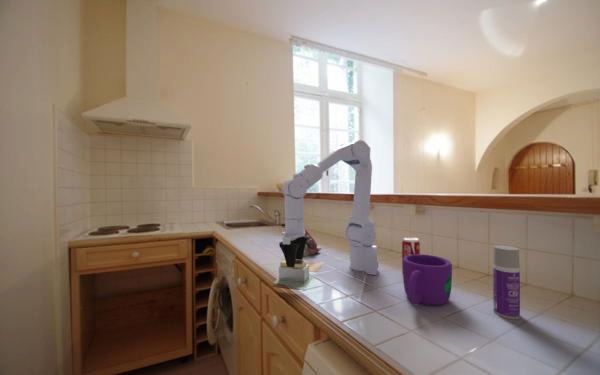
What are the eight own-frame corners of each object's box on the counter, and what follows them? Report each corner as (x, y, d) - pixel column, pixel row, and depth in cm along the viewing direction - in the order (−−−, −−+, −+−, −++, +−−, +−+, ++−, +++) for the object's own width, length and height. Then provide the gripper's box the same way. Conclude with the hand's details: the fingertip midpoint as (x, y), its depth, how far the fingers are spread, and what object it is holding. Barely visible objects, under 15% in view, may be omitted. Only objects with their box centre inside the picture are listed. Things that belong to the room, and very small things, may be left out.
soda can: (399, 276, 82) (399, 238, 82) (405, 272, 86) (405, 236, 86) (416, 280, 79) (416, 241, 79) (422, 275, 83) (422, 238, 83)
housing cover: (285, 262, 81) (285, 258, 81) (306, 264, 79) (306, 260, 79) (280, 266, 78) (280, 262, 78) (302, 268, 75) (302, 264, 75)
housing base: (284, 274, 82) (284, 262, 82) (309, 277, 79) (309, 264, 79) (278, 280, 77) (278, 267, 77) (304, 283, 74) (304, 269, 74)
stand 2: (324, 265, 93) (324, 263, 93) (317, 275, 84) (317, 272, 84) (298, 263, 97) (298, 260, 97) (288, 272, 87) (288, 269, 87)
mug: (411, 286, 74) (411, 251, 74) (456, 297, 67) (456, 258, 67) (386, 307, 62) (385, 265, 61) (438, 324, 54) (438, 276, 54)
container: (512, 321, 55) (512, 251, 55) (488, 311, 59) (488, 246, 59) (524, 316, 57) (524, 248, 57) (500, 307, 61) (500, 244, 61)
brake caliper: (284, 251, 105) (295, 225, 111) (297, 262, 113) (306, 237, 118) (307, 255, 99) (317, 228, 105) (319, 266, 106) (328, 240, 112)
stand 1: (315, 278, 81) (315, 275, 81) (305, 290, 72) (305, 287, 72) (285, 275, 84) (285, 272, 84) (273, 286, 75) (273, 283, 75)
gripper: (290, 215, 86) (291, 255, 86) (272, 221, 72) (273, 269, 72) (310, 215, 84) (311, 257, 84) (295, 222, 70) (296, 271, 70)
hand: (295, 262), depth 78 cm, fingers open, 7 cm apart
